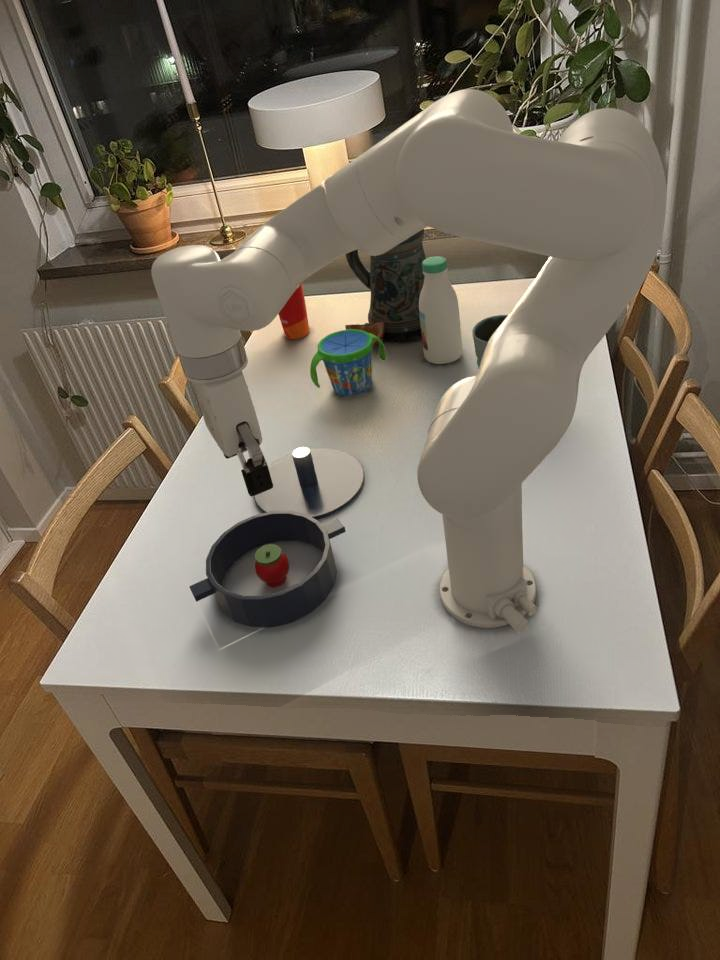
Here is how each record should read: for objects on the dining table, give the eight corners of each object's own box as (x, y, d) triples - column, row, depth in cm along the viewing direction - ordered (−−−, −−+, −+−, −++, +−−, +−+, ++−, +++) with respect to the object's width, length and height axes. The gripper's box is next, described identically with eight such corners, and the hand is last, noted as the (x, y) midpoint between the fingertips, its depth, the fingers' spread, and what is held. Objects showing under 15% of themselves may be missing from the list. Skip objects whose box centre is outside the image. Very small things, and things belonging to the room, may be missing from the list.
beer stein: (447, 338, 154) (436, 219, 139) (355, 350, 157) (335, 234, 141) (442, 304, 167) (431, 192, 152) (357, 315, 170) (338, 206, 154)
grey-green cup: (515, 366, 141) (513, 309, 134) (541, 390, 133) (541, 331, 126) (467, 382, 140) (462, 324, 132) (490, 407, 132) (487, 347, 125)
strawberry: (298, 582, 104) (289, 553, 101) (267, 597, 103) (257, 568, 99) (285, 562, 108) (276, 534, 104) (255, 577, 106) (245, 548, 103)
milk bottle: (469, 349, 149) (462, 253, 137) (451, 367, 144) (442, 270, 132) (435, 343, 153) (425, 250, 141) (417, 361, 148) (405, 267, 136)
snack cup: (378, 364, 150) (371, 319, 144) (400, 386, 142) (393, 339, 136) (307, 389, 147) (296, 344, 141) (326, 413, 139) (315, 366, 133)
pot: (375, 583, 102) (368, 553, 99) (222, 659, 96) (209, 629, 92) (322, 517, 115) (315, 488, 112) (185, 580, 109) (172, 551, 105)
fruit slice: (346, 352, 156) (342, 331, 153) (352, 337, 161) (348, 316, 158) (385, 350, 154) (381, 328, 151) (389, 335, 159) (386, 313, 156)
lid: (384, 493, 118) (378, 457, 113) (280, 541, 112) (269, 505, 108) (335, 440, 131) (327, 407, 127) (239, 481, 126) (228, 447, 122)
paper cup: (284, 326, 171) (271, 269, 162) (316, 324, 169) (304, 266, 161) (277, 343, 165) (262, 284, 156) (310, 340, 163) (297, 281, 155)
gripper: (163, 339, 91) (202, 451, 101) (204, 399, 78) (243, 519, 88) (220, 320, 93) (252, 431, 103) (269, 374, 80) (300, 495, 90)
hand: (248, 472), depth 96 cm, fingers open, 9 cm apart
